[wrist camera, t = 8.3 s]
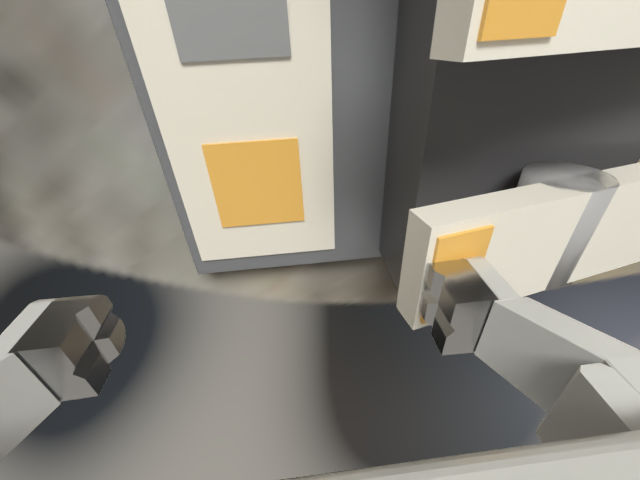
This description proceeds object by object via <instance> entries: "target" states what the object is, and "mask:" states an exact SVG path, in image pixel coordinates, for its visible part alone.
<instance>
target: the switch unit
mask: <svg viewBox="0 0 640 480" xmlns="http://www.w3.org/2000/svg"><path fill="white" fill-rule="evenodd" d="M105 2H106V5H107V8H108V11H109V13H110V16H111V19H112V22H113V25H114V28H115V31H116V34H117V37H118V40H119V43H120V46H121V49H122V52H123V55H124V58H125V60H126V63H127V66H128V69H129V72H130V75H131V78H132V81H133V84H134V87H135V90H136V93H137V96H138V99H139V102H140V105H141V108H142V110H143V113H144V116H145V119H146V122H147V125H148V128H149V131H150V134H151V137H152V140H153V143H154V146H155V149H156V152H157V155H158V158H159V160H160V163H161V166H162V169H163V172H164V175H165V178H166V181H167V184H168V187H169V190H170V193H171V196H172V199H173V202H174V205H175V207H176V210H177V213H178V216H179V219H180V222H181V225H182V228H183V231H184V234H185V237H186V240H187V243H188V246H189V249H190V252H191V255H192V257H193V260H194V263H195V266H196V269H197V272H198V274H205V273H216V272H227V271H237V270H248V269H258V268H269V267H280V266H290V265H301V264H311V263H322V262H333V261H343V260H354V259H365V258H375V257H382V258H383V260H384V262H385V264H386V267H387V269H388V271H389V274H390V276H391V278H392V280H393V283H394V285H395V287H396V290H397V292H398V290H399V283H400V275H401V268H402V260H403V253H404V245H405V238H406V230H407V223H408V215H409V209H413V208H418V207H423V206H428V205H433V204H438V203H443V202H448V201H453V200H458V199H462V198H467V197H472V196H477V195H482V194H487V193H492V192H497V191H502V190H507V189H512V188H517V185H518V182H519V179H520V176H521V173H522V170H523V168H524V166H526V165H527V164H530V163H534V162H541V161H559V162H568V163H575V164H580V165H585V166H589V167H593V168H596V169H599V170H605V169H610V168H615V167H620V166H625V165H630V164H635V163H637V162H638V161H639V159H640V47H637V48H625V49H613V50H602V51H590V52H579V53H567V54H555V55H544V56H532V57H520V58H509V59H497V60H486V61H474V62H454V61H445V60H435V59H430V51H431V44H432V37H433V29H434V22H435V14H436V7H437V0H105ZM571 283H572V282H570V283H567V284H566V285H569V284H571Z"/></svg>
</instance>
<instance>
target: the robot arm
mask: <svg viewBox="0 0 640 480" xmlns="http://www.w3.org/2000/svg"><path fill="white" fill-rule="evenodd" d="M424 280H425V282H426V284H427V286H426V288H425V289H424V290H423V291H422V293H421V299H420V304H419V309H420V312H421V315H422V317H423V319H424V321H426V322H427V323H429V324H430V325H432V326H433V327H432V331H431V335H432V337H433V339H434V341H435V343H436V345H437V347H438V349H439V351H440V353H441V355H451V354H462V353H473V352H475V355H476V356H477V357H479V358H480V359H481V360H482V361H484V362H485V363H486V364H487V365H489V366H490V367H491V368H492V369H494V370H495V371H496V372H497V373H499V374H500V375H501V376H502V377H504V378H505V379H506V380H507V381H509V382H510V383H511V384H512V385H513V386H515V387H516V388H517V389H518V390H520V391H521V392H522V393H523V394H525V395H526V396H527V397H528V398H530V399H531V400H532V401H533V402H535V403H536V404H537V405H538V406H540V407H541V408H542V409H544V410H545V411H546V412H547V414H546V416H545V417H544V419H543V420H542V421H541V423H540V424H539V426H538V428H537V431H536V434H537V436H538V438H539V439H540V441H541V444H534V445H527V446H520V447H512V448H506V449H498V450H491V451H485V452H477V453H469V454H462V455H455V456H448V457H441V458H434V459H426V460H419V461H411V462H404V463H397V464H390V465H383V466H375V467H368V468H361V469H354V470H346V471H339V472H332V473H325V474H318V475H310V476H303V477H296V478H289V479H282V480H640V350H638V349H636V348H634V347H632V346H630V345H628V344H625V343H623V342H621V341H619V340H617V339H615V338H613V337H611V336H609V335H606V334H604V333H602V332H600V331H598V330H596V329H594V328H592V327H590V326H587V325H585V324H583V323H581V322H579V321H577V320H575V319H572V318H570V317H568V316H566V315H564V314H562V313H560V312H558V311H556V310H554V309H551V308H549V307H547V306H545V305H543V304H541V303H539V302H537V301H534V300H532V299H530V298H528V297H525V298H521V297H520V295H519V294H518V293H517V292H516V291H515V290H514V289H513V288H512V287H511V286H510V285H509V283H508V282H507V281H506V280H505V279H504V278H503V277H502V276H501V275H500V274H499V272H498V271H497V270H496V269H495V268H494V267H493V266H492V265H491V264H490V263H489V261H488V260H487V259H486V258H484V257H482V256H476V257H468V258H462V259H456V260H448V261H441V262H430V263H427V267H426V272H425V277H424ZM112 307H113V305H112V303H111V302H110V301H109V299H108V297H107V296H103V295H90V296H77V297H64V298H58V299H43V300H37V301H35V302H32V303H30V304H29V305H28V306H27V307H26V308H25V309H24V310H23V312H21V314H20V315H19V316H18V317H17V318H16V319H15V320H14V321H13V322H12V323H11V324H10V325H9V326H8V327H7V328H6V329H5V331H4V332H3V333H2V334H1V335H0V461H1V460H2V459H3V458H4V457H5V456H7V454H9V452H11V451H12V450H13V449H14V448H15V447H16V446H17V445H18V444H19V443H20V442H21V441H22V440H23V439H24V438H25V437H26V436H27V435H28V434H29V433H31V432H32V431H33V430H34V429H35V428H36V427H37V426H38V425H39V424H40V423H41V422H42V421H43V420H44V419H45V418H46V417H47V416H48V415H49V414H50V413H51V412H52V411H53V410H55V409H56V408H57V407H58V406H59V405H60V404H61V403H60V401H66V400H74V399H80V398H87V397H95V396H99V394H100V392H101V390H102V388H103V386H104V384H105V382H106V380H107V378H108V376H109V374H110V372H111V367H110V364H109V363H110V362H111V361H112V360H113V359H115V358H116V357H117V356H118V355H119V354H120V352H121V350H122V348H123V346H124V342H125V335H126V332H125V328H124V325H123V322H122V320H121V319H120V318H119V317H118V316H116V315H114V314H112V313H111V310H112Z"/></svg>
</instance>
